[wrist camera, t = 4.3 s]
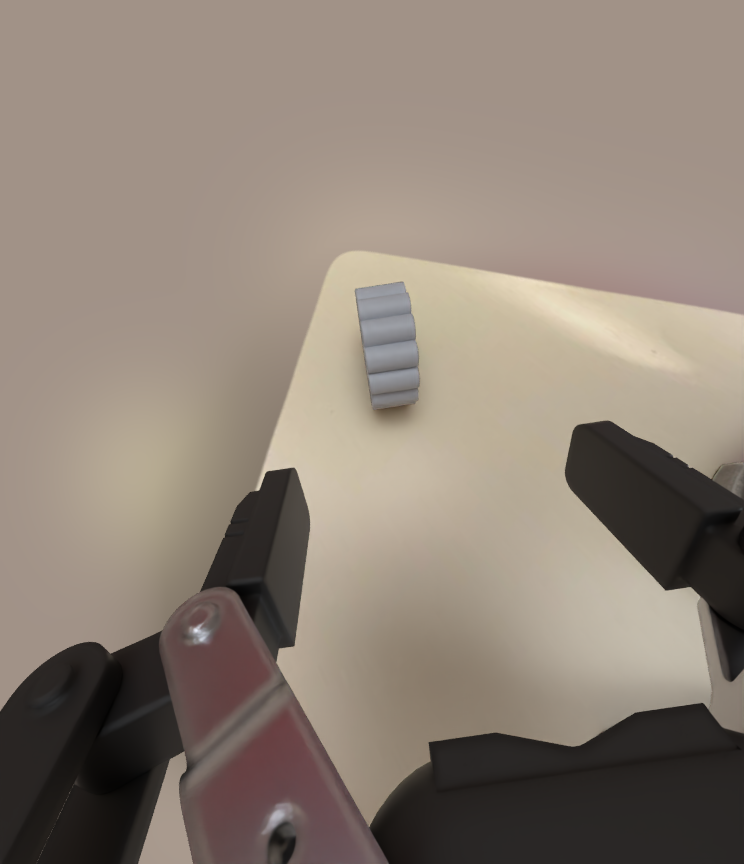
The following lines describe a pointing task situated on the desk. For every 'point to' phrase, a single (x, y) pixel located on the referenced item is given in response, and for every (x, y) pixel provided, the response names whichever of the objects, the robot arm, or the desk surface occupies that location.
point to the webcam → (731, 478)
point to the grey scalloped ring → (389, 344)
